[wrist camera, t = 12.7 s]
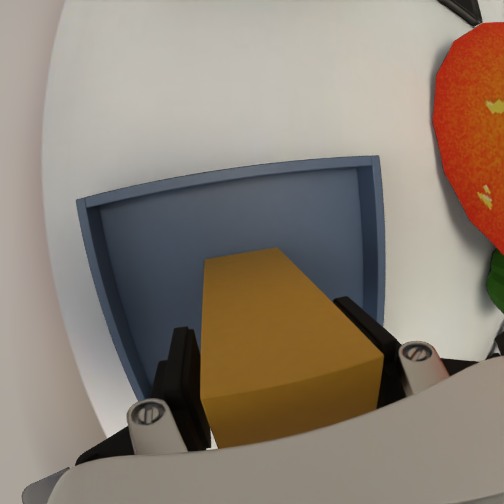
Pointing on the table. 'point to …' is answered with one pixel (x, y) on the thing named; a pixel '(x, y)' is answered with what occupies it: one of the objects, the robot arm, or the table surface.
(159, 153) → the table surface
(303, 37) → the table surface
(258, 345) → the block
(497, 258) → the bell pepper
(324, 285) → the tray
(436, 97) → the toy strawberry
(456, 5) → the phone
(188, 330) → the robot arm
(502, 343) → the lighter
